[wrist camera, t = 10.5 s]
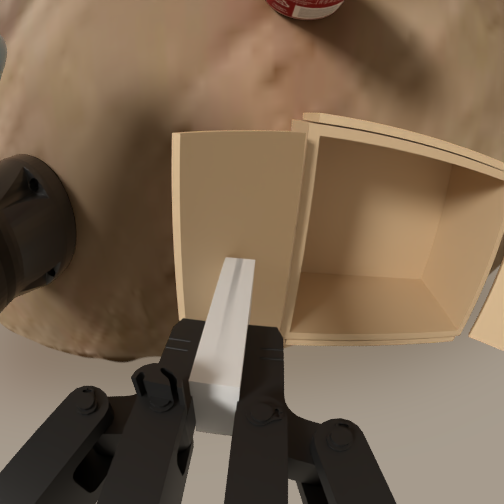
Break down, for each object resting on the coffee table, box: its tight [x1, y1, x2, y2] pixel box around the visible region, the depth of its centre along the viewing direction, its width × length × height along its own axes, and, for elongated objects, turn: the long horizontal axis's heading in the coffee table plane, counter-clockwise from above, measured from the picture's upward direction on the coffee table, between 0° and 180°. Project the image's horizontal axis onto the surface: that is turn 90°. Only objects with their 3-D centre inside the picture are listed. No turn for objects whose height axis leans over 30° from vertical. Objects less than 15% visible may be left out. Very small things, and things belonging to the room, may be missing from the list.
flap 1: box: [172, 130, 306, 330], centre depth 14 cm, size 7×13×1 cm
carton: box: [279, 113, 504, 346], centre depth 21 cm, size 16×15×9 cm
